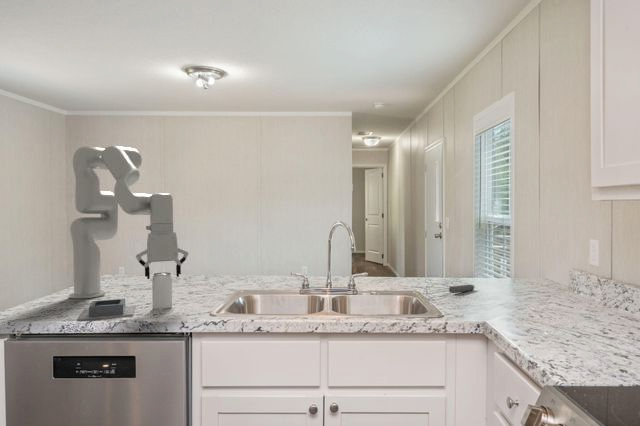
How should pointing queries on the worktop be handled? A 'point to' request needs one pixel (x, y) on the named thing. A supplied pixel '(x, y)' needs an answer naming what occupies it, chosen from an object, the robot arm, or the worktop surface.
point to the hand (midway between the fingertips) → (163, 277)
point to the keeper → (107, 310)
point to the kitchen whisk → (453, 289)
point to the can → (162, 290)
